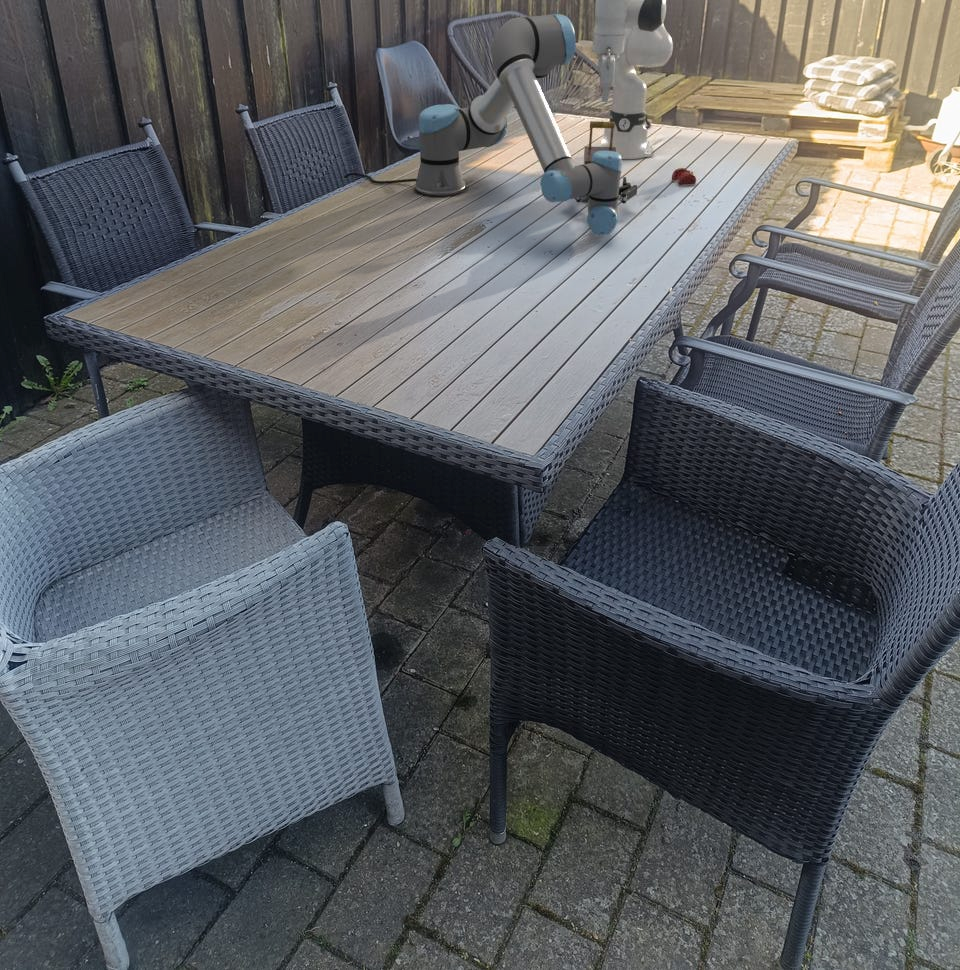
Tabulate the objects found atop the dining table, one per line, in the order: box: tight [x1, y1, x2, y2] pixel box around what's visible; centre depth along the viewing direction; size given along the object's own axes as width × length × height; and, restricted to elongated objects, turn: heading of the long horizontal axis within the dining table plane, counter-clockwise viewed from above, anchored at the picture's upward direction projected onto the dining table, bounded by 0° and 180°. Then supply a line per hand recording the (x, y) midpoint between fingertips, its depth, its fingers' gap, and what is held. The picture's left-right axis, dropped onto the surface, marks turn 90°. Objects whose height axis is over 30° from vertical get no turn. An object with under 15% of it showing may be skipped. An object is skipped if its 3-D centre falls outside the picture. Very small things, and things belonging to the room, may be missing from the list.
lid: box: [583, 120, 616, 164], centre depth 247 cm, size 17×9×9 cm, turn 174°
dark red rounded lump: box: [671, 167, 697, 186], centre depth 263 cm, size 6×4×8 cm
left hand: (600, 181), depth 245 cm, fingers open, 13 cm apart
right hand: (604, 98), depth 245 cm, fingers open, 8 cm apart
